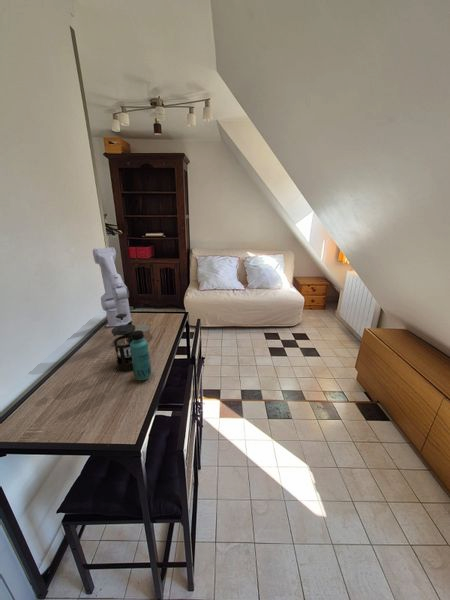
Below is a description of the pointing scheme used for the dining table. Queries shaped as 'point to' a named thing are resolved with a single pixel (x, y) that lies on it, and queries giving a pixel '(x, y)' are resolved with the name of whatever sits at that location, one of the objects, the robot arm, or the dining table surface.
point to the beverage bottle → (140, 356)
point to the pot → (144, 331)
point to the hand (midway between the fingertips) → (127, 336)
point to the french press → (124, 350)
